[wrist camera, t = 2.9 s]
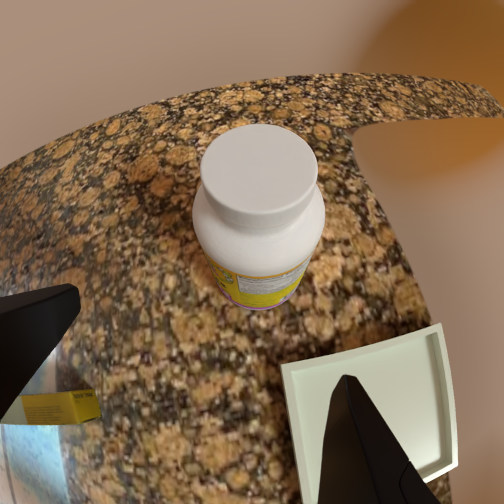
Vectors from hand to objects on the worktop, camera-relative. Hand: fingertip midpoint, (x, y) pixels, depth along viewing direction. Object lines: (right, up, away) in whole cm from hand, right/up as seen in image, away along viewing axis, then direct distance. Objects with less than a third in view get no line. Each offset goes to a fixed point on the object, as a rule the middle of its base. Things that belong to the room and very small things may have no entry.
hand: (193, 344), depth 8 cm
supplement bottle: (+2, +1, +15) cm, 15 cm away
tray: (+11, -10, +9) cm, 18 cm away
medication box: (-16, -11, +10) cm, 22 cm away
